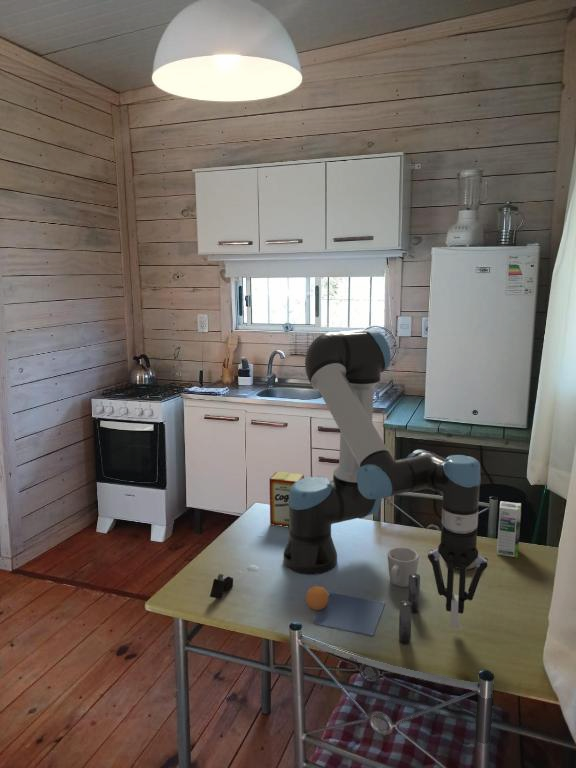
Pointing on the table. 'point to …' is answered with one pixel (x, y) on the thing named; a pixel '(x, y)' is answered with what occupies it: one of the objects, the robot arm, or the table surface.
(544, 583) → the table surface
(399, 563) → the cup
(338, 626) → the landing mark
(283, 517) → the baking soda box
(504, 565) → the table surface
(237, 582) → the table surface
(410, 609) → the post
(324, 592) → the ball
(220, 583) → the black spring clamp
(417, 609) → the post
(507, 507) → the syrup box
